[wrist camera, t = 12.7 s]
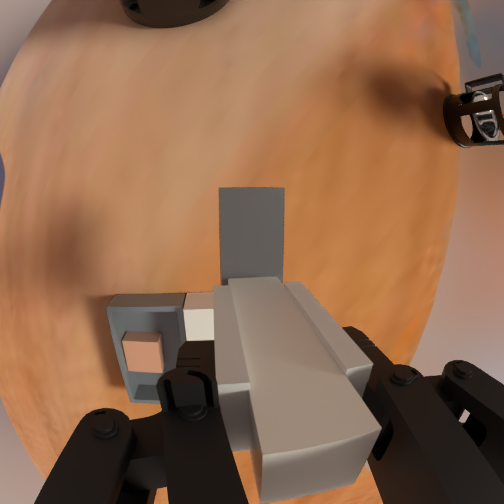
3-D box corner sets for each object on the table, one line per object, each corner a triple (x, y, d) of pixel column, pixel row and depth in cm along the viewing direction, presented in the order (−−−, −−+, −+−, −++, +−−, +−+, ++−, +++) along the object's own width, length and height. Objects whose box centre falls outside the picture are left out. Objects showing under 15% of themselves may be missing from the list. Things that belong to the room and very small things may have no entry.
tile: (158, 342, 30) (161, 332, 33) (122, 340, 30) (127, 331, 32) (162, 373, 31) (164, 362, 34) (128, 370, 31) (132, 360, 33)
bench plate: (186, 292, 33) (183, 309, 28) (294, 287, 34) (307, 302, 30) (197, 385, 36) (197, 409, 31) (289, 378, 37) (298, 399, 33)
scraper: (218, 187, 16) (240, 194, 3) (271, 187, 16) (447, 203, 3) (224, 358, 18) (249, 542, 6) (268, 355, 18) (331, 527, 6)
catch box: (116, 294, 31) (105, 306, 28) (185, 292, 33) (182, 306, 29) (136, 384, 34) (130, 402, 31) (196, 385, 36) (195, 404, 32)
